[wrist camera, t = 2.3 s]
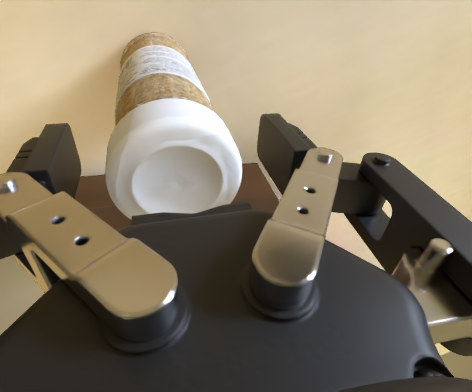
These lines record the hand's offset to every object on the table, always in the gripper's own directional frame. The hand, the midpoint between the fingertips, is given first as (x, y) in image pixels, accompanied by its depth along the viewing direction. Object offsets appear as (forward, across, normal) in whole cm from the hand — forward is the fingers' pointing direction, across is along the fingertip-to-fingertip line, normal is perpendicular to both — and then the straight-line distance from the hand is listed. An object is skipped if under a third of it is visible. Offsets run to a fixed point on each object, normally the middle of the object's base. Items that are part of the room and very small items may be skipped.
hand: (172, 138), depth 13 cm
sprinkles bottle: (+10, 0, 0) cm, 10 cm away
